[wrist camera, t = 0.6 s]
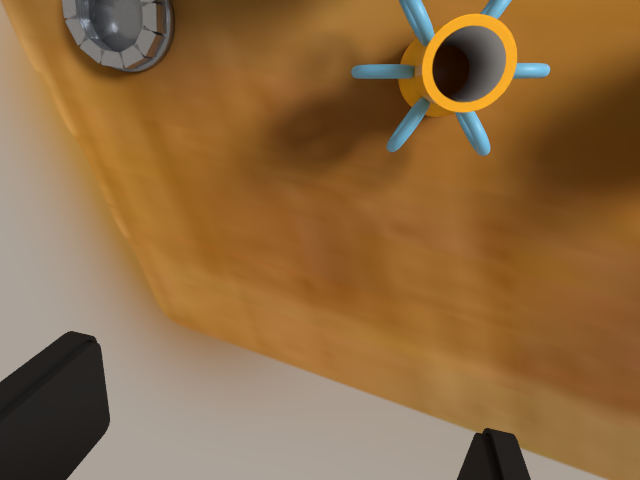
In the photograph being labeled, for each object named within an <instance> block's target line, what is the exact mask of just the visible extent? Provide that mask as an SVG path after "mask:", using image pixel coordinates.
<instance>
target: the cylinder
mask: <svg viewBox="0 0 640 480" xmlns="http://www.w3.org/2000/svg"><path fill="white" fill-rule="evenodd" d="M511 1H512V0H490V1H489V2H488V4H487V5H486V6H485V8H484V9H483V10H482V12H481V13H480V14H468V15H464V16H461V17H458V18H456V19H454V20H452V21H450V22H449V23H447V24H446V25H443V26H437V27H434V28H433V27H432V24H431V22H430V19H429V17H428V14H427V12H426V10H425V8H424V5H423V3H422V1H421V0H399V2H400V4H401V7H402V9H403V11H404V13H405V15H406V18H407V20H408V22H409V24H410V26H411V27H412V29H413V31H414V33H415V35H416V36H417V38H415V39H414V40H413V41H412V43H411V44H410V45H409V46H408V48H407V49H406V51H405V53H404V55H403V57H402V59H401V62H400V64H369V65H357V66H354V67H353V68H352V71H351V74H352V76H353V77H354V78H358V79H398V83H399V88H400V91H401V94H402V96H403V98H404V99H405V101H406V102H407V103H408V104H409V105H410V106H411V107H412V108H411V109H410V111H409V112H408V113H407V115H406V116H405V117H404V119H403V120H402V121H401V123H400V124H399V126H398V127H397V128H396V130H395V131H394V133H393V134H392V136H391V138H390V139H389V141H388V143H387V150H388V151H389V152H395V151H397V150H398V149H399V148H400V147H401V146H402V145H403V144H404V142H405V141H406V140H407V139H408V137H409V136H410V135H411V134H412V132H413V131H414V130H415V128H416V127H417V126H418V124H419V123H420V121H421V120H422V118H423V117H424V115H426V116H431V117H443V116H448V115H451V114H454V113H455V114H456V116H457V119H458V121H459V123H460V125H461V127H462V129H463V131H464V133H465V135H466V137H467V138H468V140H469V142H470V143H471V145H472V147H473V148H474V150H475V151H476V152H477V153H478V154H479V155H481V156H485V155H487V154H488V153H489V152H490V143H489V140H488V137H487V135H486V133H485V130H484V128H483V126H482V124H481V122H480V120H479V118H478V117H477V115H476V113H475V112H474V111H476V110H479V109H482V108H484V107H486V106H488V105H489V104H491V103H492V102H494V101H495V100H496V99H497V98H499V97H500V96H501V94H502V93H503V92H504V91H505V90H506V88H507V87H508V85H509V84H510V82H511V80H512V79H518V78H543V77H546V76H547V75H548V74H549V72H550V67H549V65H547V64H543V63H517V48H516V44H515V40H514V38H513V36H512V34H511V32H510V31H509V29H508V28H507V27H506V26H505V25H504V24H503V23H502V22H501V21H499V20H498V18H499V17H500V15H501V14H502V13H503V11H504V10H505V9H506V7H507V6H508V5H509V3H510V2H511Z"/></svg>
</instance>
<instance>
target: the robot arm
mask: <svg viewBox="0 0 640 480" xmlns="http://www.w3.org/2000/svg"><path fill="white" fill-rule="evenodd" d="M109 423H110V414H109V407H108V399H107V391H106V384H105V376H104V368H103V360H102V353H101V347H100V345H99V344H98V343H97V341H96V338H95V337H94V336H90V335H86V334H82V333H78V332H74V331H70V332H67V333H65V334H64V335H62V336H61V337H60V338H58V339H57V340H56V341H54V342H53V343H52V344H50V345H49V346H48V347H46V348H45V349H44V350H42V351H41V352H40V353H38V354H37V355H36V356H34V357H33V358H32V359H30V360H29V361H28V362H26V363H25V364H24V365H22V366H21V367H20V368H18V369H17V370H16V371H14V372H13V373H12V374H10V375H9V376H8V377H6V378H5V379H4V380H3V381H1V382H0V480H66V479H67V478H68V477H69V476H70V475H71V473H72V472H73V471H74V470H75V469H76V467H77V466H78V465H79V464H80V463H81V461H82V460H83V459H84V458H85V457H86V455H87V454H88V453H89V452H90V451H91V449H92V448H93V447H94V446H95V445H96V444H97V442H98V441H99V440H100V439H101V438H102V436H103V435H104V434H105V432H106V431H107V429H108V426H109ZM457 480H531V479H530V476H529V473H528V470H527V467H526V464H525V461H524V458H523V456H522V453H521V450H520V447H519V444H518V441H517V439H516V437H515V436H514V434H511V433H506V432H502V431H498V430H494V429H489V428H486V429H484V431H483V433H482V434H481V433H476V434H475V435H474V437H473V440H472V442H471V445H470V448H469V450H468V453H467V455H466V458H465V460H464V463H463V466H462V468H461V470H460V473H459V476H458V478H457Z"/></svg>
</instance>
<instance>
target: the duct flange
mask: <svg viewBox="0 0 640 480" xmlns="http://www.w3.org/2000/svg"><path fill="white" fill-rule="evenodd" d="M62 5H63V14H64V18H68V19H67V20H66V21H65V22H66V24H67V26H68V28H69V30H70V32H71V34H72V35H73V37H74V39H75V41H76V43H77V45H78V46H80V49H82V50H83V51H84V52H85V53H87V54H88V55H89V56H90V57H91V58H93V59H94V60H95V61H96V62H98V63H99V64H102V65H105V66H110V67H112V68H115V69H117V70H121V71H128V72H141V71H145V70H148V69H151V68H153V67H154V66H156V65H157V64H158V63H160V62H161V61H162V59H163V58H164V57H165V56H166V54H167V52H168V51H169V49H170V46H171V44H172V40H173V36H174V29H175V17H174V10H173V5H172V1H171V0H62Z"/></svg>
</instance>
